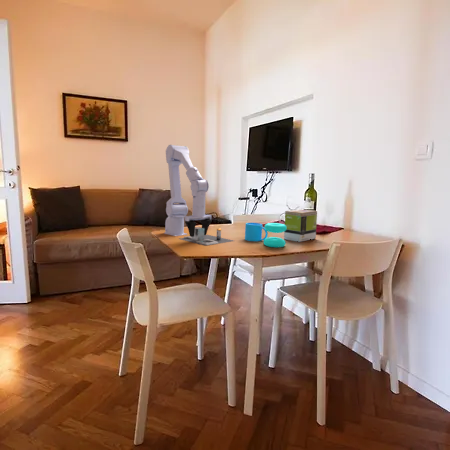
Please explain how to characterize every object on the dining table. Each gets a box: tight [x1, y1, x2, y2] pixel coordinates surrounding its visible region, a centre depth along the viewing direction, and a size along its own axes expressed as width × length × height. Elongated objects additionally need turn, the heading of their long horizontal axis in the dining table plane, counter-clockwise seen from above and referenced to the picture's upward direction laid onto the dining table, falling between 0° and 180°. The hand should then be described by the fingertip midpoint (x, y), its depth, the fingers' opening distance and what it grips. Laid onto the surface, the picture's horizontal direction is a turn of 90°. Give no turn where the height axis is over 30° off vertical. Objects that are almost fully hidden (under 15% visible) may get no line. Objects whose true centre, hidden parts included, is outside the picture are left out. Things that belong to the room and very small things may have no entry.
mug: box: [244, 222, 269, 242], centre depth 165 cm, size 12×8×8 cm
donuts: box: [263, 222, 287, 248], centre depth 155 cm, size 10×10×10 cm
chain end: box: [183, 226, 218, 246], centre depth 157 cm, size 18×7×6 cm, turn 46°
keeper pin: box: [216, 228, 222, 240], centre depth 161 cm, size 2×2×5 cm
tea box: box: [283, 208, 318, 243], centre depth 174 cm, size 15×10×15 cm, turn 134°
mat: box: [178, 234, 235, 247], centre depth 161 cm, size 19×19×1 cm
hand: (198, 235), depth 157 cm, fingers open, 7 cm apart
